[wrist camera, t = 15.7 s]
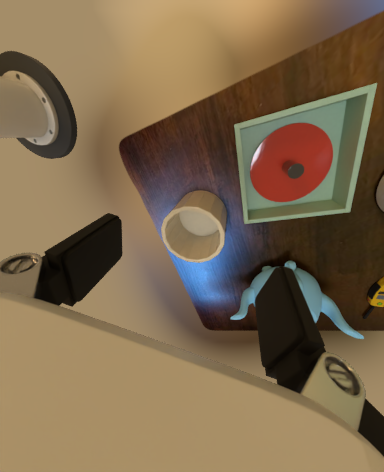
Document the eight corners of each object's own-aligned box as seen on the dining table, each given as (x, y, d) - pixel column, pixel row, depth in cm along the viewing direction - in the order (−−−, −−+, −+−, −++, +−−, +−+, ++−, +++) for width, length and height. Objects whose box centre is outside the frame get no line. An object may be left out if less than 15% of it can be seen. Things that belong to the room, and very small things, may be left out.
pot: (167, 214, 44) (150, 234, 35) (200, 178, 37) (189, 192, 29) (201, 245, 46) (193, 271, 38) (238, 217, 40) (238, 240, 31)
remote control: (412, 283, 37) (377, 324, 44) (404, 276, 38) (372, 317, 46) (385, 280, 38) (355, 320, 45) (379, 274, 39) (351, 314, 47)
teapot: (331, 285, 44) (366, 340, 32) (263, 309, 53) (271, 358, 42) (296, 243, 40) (322, 288, 28) (231, 276, 50) (229, 320, 38)
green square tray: (243, 213, 39) (244, 224, 34) (234, 126, 31) (234, 124, 26) (334, 201, 34) (350, 212, 29) (351, 92, 26) (377, 82, 21)
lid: (235, 166, 34) (235, 172, 29) (301, 102, 27) (314, 95, 22) (276, 213, 37) (282, 224, 32) (346, 164, 30) (366, 170, 25)
